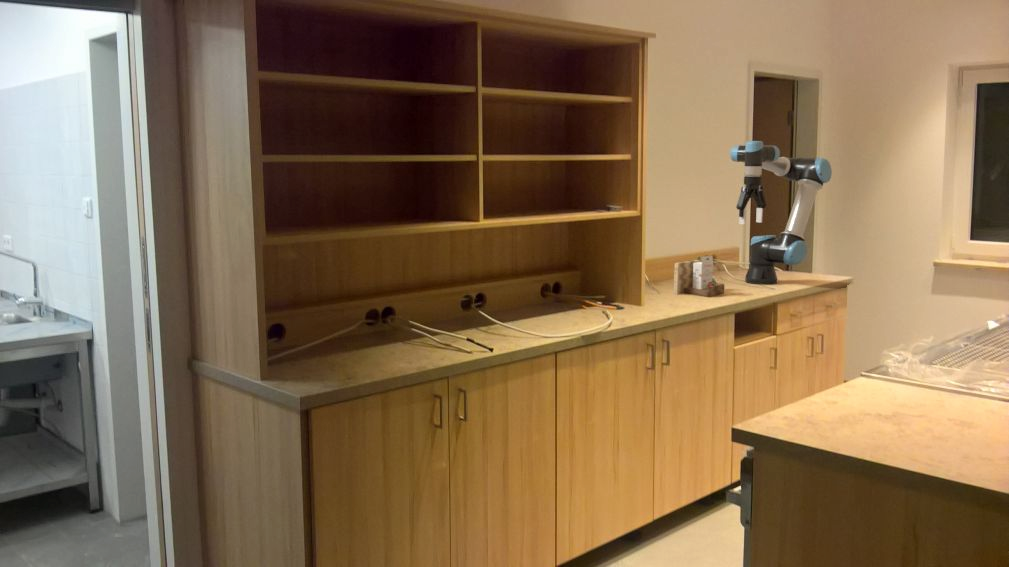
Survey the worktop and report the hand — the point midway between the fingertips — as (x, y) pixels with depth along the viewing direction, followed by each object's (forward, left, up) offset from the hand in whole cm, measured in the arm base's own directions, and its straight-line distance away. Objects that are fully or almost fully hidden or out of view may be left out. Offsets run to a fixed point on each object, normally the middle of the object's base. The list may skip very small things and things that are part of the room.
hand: (750, 223), depth 382 cm
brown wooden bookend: (+20, -10, -31) cm, 39 cm away
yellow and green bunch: (-2, -27, -32) cm, 42 cm away
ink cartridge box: (+21, -10, -29) cm, 37 cm away
